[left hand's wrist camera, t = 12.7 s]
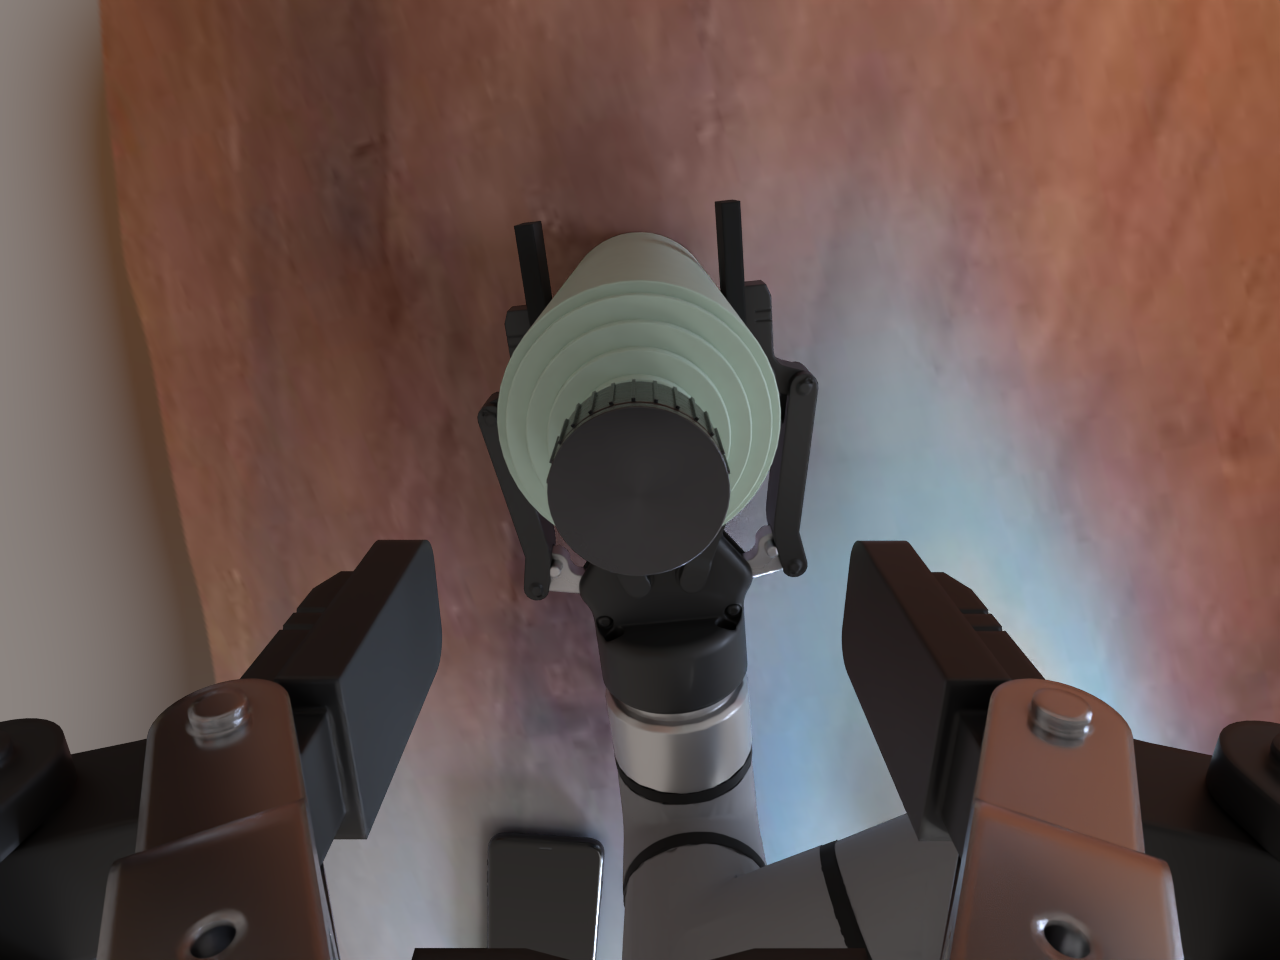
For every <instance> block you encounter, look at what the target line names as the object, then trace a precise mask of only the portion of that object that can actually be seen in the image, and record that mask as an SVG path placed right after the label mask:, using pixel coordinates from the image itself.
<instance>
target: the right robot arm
mask: <svg viewBox="0 0 1280 960" xmlns="http://www.w3.org/2000/svg"><path fill="white" fill-rule="evenodd" d="M715 213H716V229H717V244H718V260H719V275H720V291H721V293H722V294H723V296H724V297H725V298H726V300H727V301H728V302H729V304H730V305H731V306H732V308H733V309H734V310H735V312H736V313H737V314H738V316H739V317H740V318H741V320H742V321H743V322H744V324H745V325H746V326H747V328H748V329H749V330H750V332H751V333H752V334H753V336H754V337H755V338H756V340H757V341H758V343H759V344H760V346H761V348H762V350H763V351H764V353H765V355H766V356H767V358H768V361H769V363H770V366H771V368H772V371H773V373H774V376H775V380H776V384H777V387H778V391H779V399H780V408H781V422H780V434H779V440H778V446H777V449H776V452H775V456H774V459H773V462H772V465H771V467H770V474H769V483H768V491H767V500H766V516H767V522H768V526H763V527H761V528H760V529H759V530H758V532H757V533H756V540H755V545H754V547H753V548H752V549H751V550H750V551H748V552H744V551H743V550H742V549H741V548H740V547H739V546H738V544H737V543H736V542H735V541H734V540H733V539H732V538H731V537H730V536H729V535H728V534H727V533H726V532H725V531H724V528H725V525H726V524H724V525H723V526H722V527H721V529H720V531H719V532H718V534H717V536H716V537H715V539H714V540H713V541H712V542H711V543H710V545H709V546H708V547H707V548H706V549H705V550H704V551H703V552H702V553H701V554H699V555H698V556H697V557H695V558H694V559H693V560H691V561H689V562H688V563H686V564H684V565H682V566H680V567H678V568H676V569H673V570H671V571H667V572H664V573H660V574H654V575H645V576H633V575H623V574H618V573H613V572H610V571H607V570H604V569H602V568H600V567H597V566H595V565H593V564H591V563H590V562H588V561H587V562H586V563H585V565H584V567H579V566H577V565H575V564H574V563H573V562H572V561H571V558H570V554H569V552H568V550H567V549H566V548H564V547H563V546H562V545H556V537H555V530H554V526H553V524H552V523H551V522H550V521H548V520H547V519H546V518H545V517H543V516H542V515H541V514H540V513H539V512H538V511H537V510H536V509H535V508H534V507H533V506H532V505H531V504H530V503H529V501H528V500H527V499H526V497H525V496H524V495H523V493H522V492H521V491H520V489H519V488H518V486H517V484H516V483H515V481H514V479H513V477H512V475H511V474H510V471H509V469H508V467H507V464H506V462H505V459H504V456H503V453H502V449H501V445H500V441H499V433H498V425H497V408H498V398H499V392H496V393H493V394H492V395H491V396H490V397H489V399H488V400H487V401H486V403H485V404H484V406H483V407H482V408H481V410H480V411H479V413H478V423H479V426H480V429H481V432H482V435H483V437H484V440H485V443H486V446H487V449H488V452H489V455H490V457H491V460H492V463H493V466H494V469H495V472H496V475H497V477H498V480H499V483H500V486H501V489H502V492H503V495H504V497H505V500H506V503H507V506H508V509H509V512H510V515H511V517H512V520H513V523H514V526H515V529H516V532H517V535H518V538H519V540H520V543H521V546H522V549H523V552H524V555H525V577H524V591H525V594H526V595H527V597H529V598H530V599H533V600H542V599H544V598H545V597H546V596H547V595H548V592H549V591H557V592H569V593H580V595H581V597H582V599H583V601H584V602H585V603H586V604H587V605H588V607H589V608H590V609H591V611H592V613H593V616H594V621H595V627H596V634H597V641H598V648H599V655H600V661H601V668H602V675H603V680H604V683H605V685H606V695H605V697H606V703H607V709H608V716H609V722H610V728H611V734H612V740H613V747H614V752H615V760H616V765H617V769H618V776H619V785H620V794H621V803H622V812H623V824H624V854H623V895H624V907H625V916H624V934H623V952H622V960H711V959H715V958H719V957H723V956H727V955H730V954H734V953H738V952H742V951H746V950H749V949H753V948H865V950H866V953H867V957H868V960H939V958H940V952H941V947H942V941H943V935H944V930H945V924H946V918H947V912H948V907H949V901H950V895H951V890H952V884H953V878H954V873H955V869H956V864H957V859H958V852H957V850H956V848H955V846H954V844H953V842H952V841H918V838H917V836H916V834H915V831H914V829H913V826H912V824H911V822H910V819H909V817H908V815H907V813H906V814H904V815H901V816H899V817H896V818H894V819H891V820H889V821H886V822H884V823H881V824H879V825H876V826H874V827H871V828H869V829H866V830H864V831H861V832H859V833H856V834H854V835H852V836H849V837H847V838H844V839H842V840H839V841H838V840H836V841H833V842H830V843H828V844H825V845H821V846H818V847H815V848H813V849H810V850H807V851H804V852H802V853H799V854H796V855H794V856H791V857H788V858H786V859H783V860H780V861H778V862H775V863H772V864H770V865H766V860H765V854H764V849H763V844H762V838H761V833H760V828H759V821H758V814H757V806H756V794H755V784H754V774H753V764H752V726H751V712H750V698H749V684H748V677H747V675H746V671H747V651H746V635H745V619H744V598H745V595H746V592H747V590H748V588H749V587H750V585H751V582H752V578H754V577H758V576H761V575H765V574H769V573H772V572H776V571H780V570H783V571H784V573H785V574H786V575H788V576H790V577H798V576H800V575H802V574H803V573H804V572H805V571H806V569H807V560H806V556H805V552H804V549H803V545H802V541H801V537H800V533H799V529H800V522H801V514H802V507H803V499H804V491H805V484H806V476H807V469H808V461H809V454H810V446H811V439H812V431H813V424H814V416H815V408H816V401H817V393H818V382H817V380H816V378H815V377H814V376H813V375H812V374H811V373H810V372H809V371H808V369H807V368H806V367H805V366H804V365H803V364H801V363H799V362H789V361H785V360H781V359H778V358H776V357H775V356H774V352H773V331H772V310H771V309H772V306H771V294H770V292H769V290H768V288H767V286H766V284H765V283H764V282H763V281H761V280H757V281H747V282H744V265H743V246H742V227H741V208H740V201H737V200H725V201H716V202H715ZM514 229H515V235H516V242H517V248H518V254H519V261H520V267H521V273H522V280H523V286H524V293H525V299H526V305H522V306H513V307H511V308H510V309H509V310H508V311H507V315H506V320H505V329H506V335H507V341H508V346H509V353H510V359H511V357H512V354H513V352H514V351H515V349H516V348H517V346H518V344H519V343H520V341H521V340H522V338H523V337H524V335H525V334H526V333H527V331H528V330H529V329H530V328H531V326H532V325H533V324H534V322H535V321H536V320H537V318H538V317H539V316H540V314H541V313H542V312H543V310H544V309H545V308H546V307H547V305H548V304H549V303H550V301H551V300H552V293H551V287H550V280H549V273H548V266H547V259H546V252H545V245H544V238H543V231H542V224H541V221H536V222H527V223H522V224H519V225H516V226H514Z"/></svg>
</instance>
